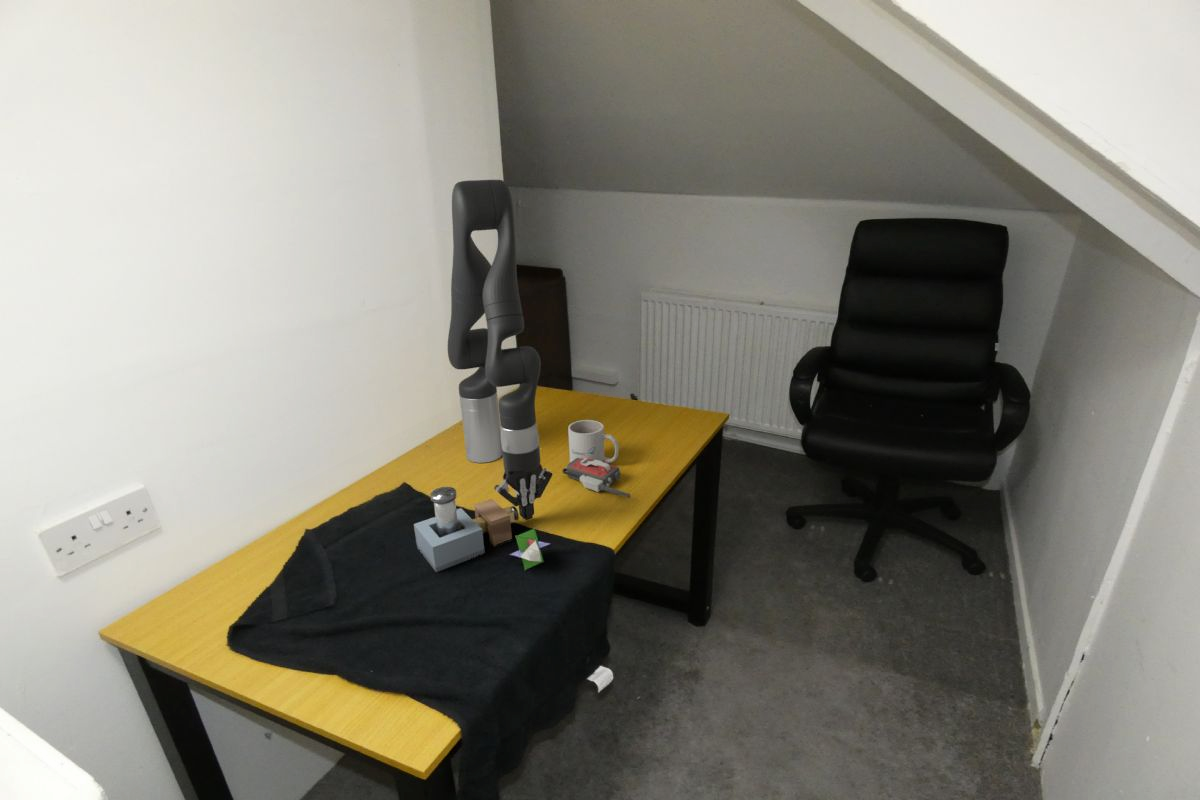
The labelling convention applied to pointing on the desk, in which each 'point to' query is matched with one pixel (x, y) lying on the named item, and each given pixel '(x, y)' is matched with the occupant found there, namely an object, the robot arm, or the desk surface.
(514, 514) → the lock pin
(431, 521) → the dock socket
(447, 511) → the silver round-topped cylinder
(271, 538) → the desk surface
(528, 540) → the geometric puzzle
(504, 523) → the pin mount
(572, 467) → the walkie-talkie
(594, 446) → the mug
